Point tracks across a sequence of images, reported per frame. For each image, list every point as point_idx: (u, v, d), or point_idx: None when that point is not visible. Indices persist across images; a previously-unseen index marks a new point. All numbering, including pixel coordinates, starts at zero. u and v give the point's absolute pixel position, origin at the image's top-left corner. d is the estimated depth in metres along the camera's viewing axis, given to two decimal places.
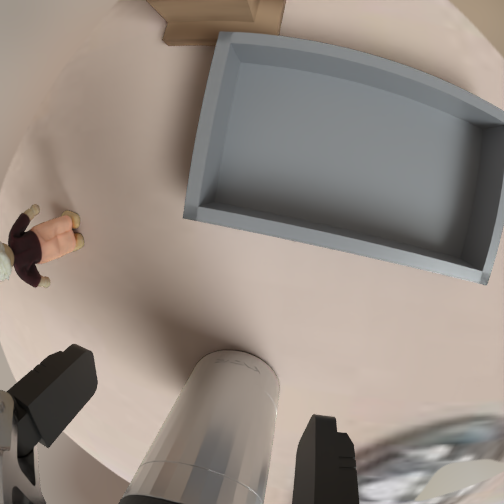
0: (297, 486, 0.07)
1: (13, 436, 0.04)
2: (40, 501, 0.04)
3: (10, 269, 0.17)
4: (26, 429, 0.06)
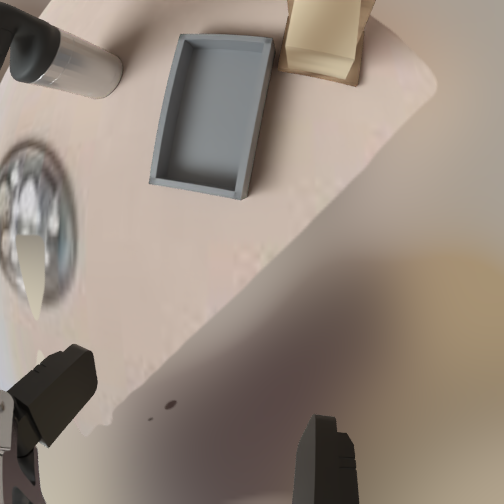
0: (297, 486, 0.07)
1: (13, 436, 0.04)
2: (40, 501, 0.04)
3: None
4: (26, 429, 0.06)
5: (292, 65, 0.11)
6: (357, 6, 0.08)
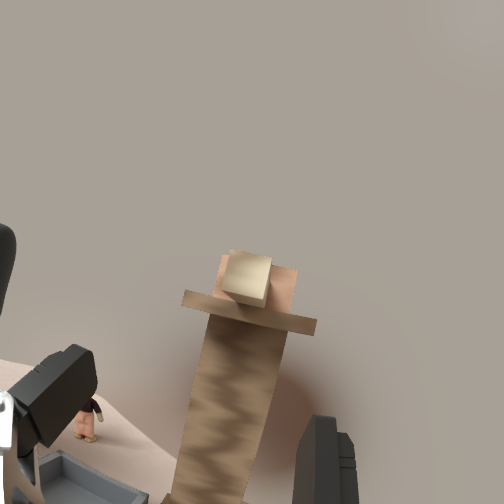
0: (297, 486, 0.07)
1: (13, 436, 0.04)
2: (40, 501, 0.04)
3: None
4: (26, 429, 0.06)
5: (225, 283, 0.17)
6: None
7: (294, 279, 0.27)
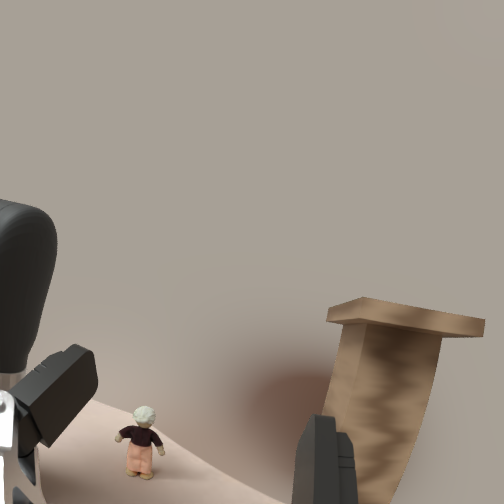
0: (296, 486, 0.07)
1: (14, 436, 0.04)
2: (41, 501, 0.04)
3: (137, 421, 0.34)
4: (27, 429, 0.06)
5: None
6: None
7: None
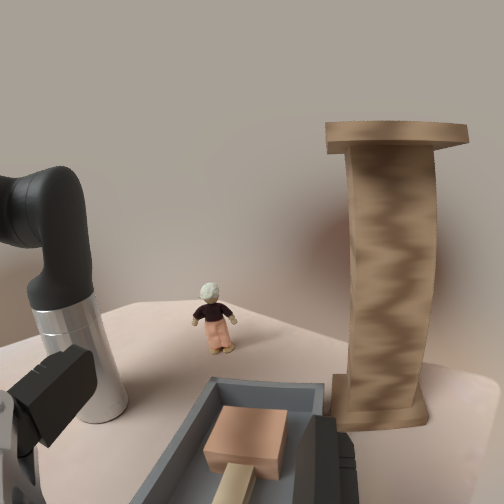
0: (297, 486, 0.07)
1: (13, 436, 0.04)
2: (40, 501, 0.04)
3: (204, 298, 0.47)
4: (26, 429, 0.06)
5: None
6: None
7: (275, 464, 0.22)
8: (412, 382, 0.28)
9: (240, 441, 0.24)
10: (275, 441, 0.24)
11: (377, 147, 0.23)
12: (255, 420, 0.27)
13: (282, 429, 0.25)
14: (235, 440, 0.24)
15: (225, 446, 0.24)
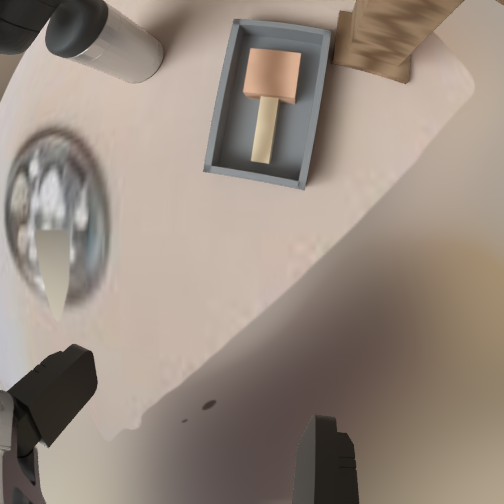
0: (297, 486, 0.07)
1: (13, 436, 0.04)
2: (40, 501, 0.04)
3: None
4: (26, 428, 0.06)
5: None
6: (270, 145, 0.39)
7: (293, 99, 0.36)
8: (401, 56, 0.31)
9: (268, 82, 0.35)
10: (293, 82, 0.35)
11: None
12: (276, 62, 0.34)
13: (297, 71, 0.34)
14: (264, 81, 0.35)
15: (258, 86, 0.36)
